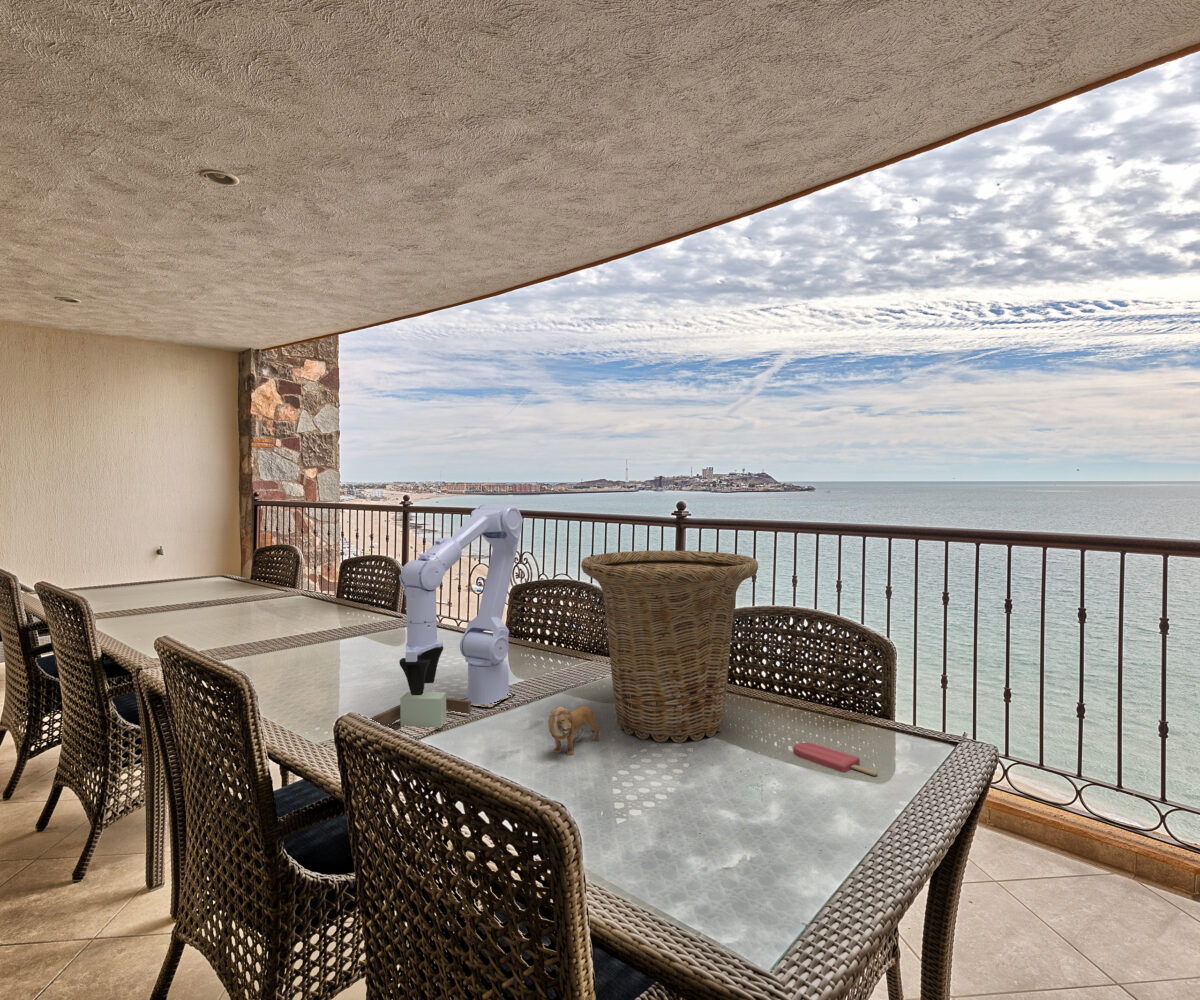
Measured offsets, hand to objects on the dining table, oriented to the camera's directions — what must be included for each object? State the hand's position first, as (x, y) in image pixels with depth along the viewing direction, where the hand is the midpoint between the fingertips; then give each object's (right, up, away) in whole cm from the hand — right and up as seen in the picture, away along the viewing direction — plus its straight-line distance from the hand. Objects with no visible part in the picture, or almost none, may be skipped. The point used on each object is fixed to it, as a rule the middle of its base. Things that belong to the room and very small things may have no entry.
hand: (422, 688), depth 132 cm
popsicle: (+76, -8, -18) cm, 78 cm away
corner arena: (-1, -8, +2) cm, 8 cm away
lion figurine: (+31, -8, -11) cm, 34 cm away
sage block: (0, -7, 0) cm, 7 cm away
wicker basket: (+49, -8, +1) cm, 50 cm away
